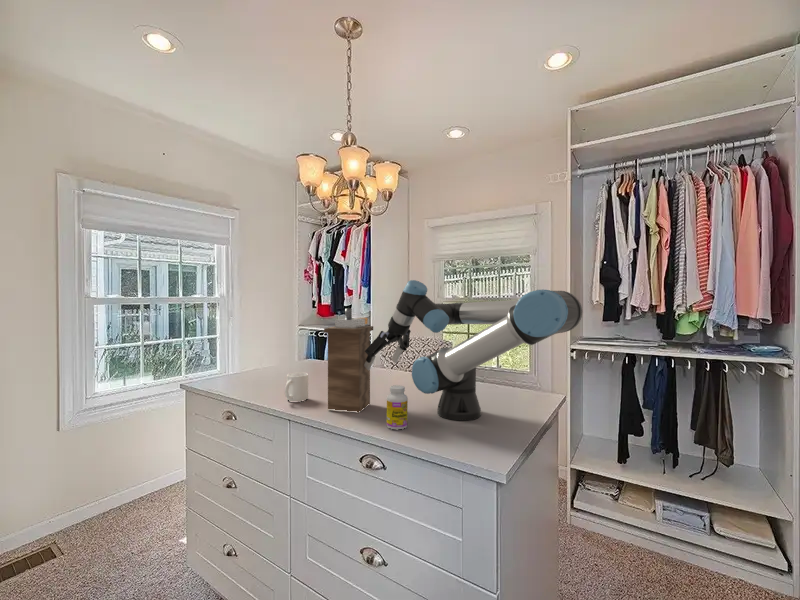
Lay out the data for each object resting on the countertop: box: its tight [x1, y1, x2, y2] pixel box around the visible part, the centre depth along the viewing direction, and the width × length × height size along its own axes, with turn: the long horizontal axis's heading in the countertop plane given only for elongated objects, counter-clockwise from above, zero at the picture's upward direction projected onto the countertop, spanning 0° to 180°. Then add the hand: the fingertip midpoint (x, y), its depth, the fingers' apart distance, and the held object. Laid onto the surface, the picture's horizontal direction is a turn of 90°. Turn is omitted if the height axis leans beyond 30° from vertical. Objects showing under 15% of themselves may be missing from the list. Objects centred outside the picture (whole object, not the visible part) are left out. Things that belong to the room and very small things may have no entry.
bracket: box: [334, 308, 368, 328], centre depth 150 cm, size 20×8×7 cm, turn 166°
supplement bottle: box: [386, 384, 409, 430], centre depth 123 cm, size 7×7×13 cm
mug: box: [284, 372, 309, 401], centre depth 153 cm, size 12×8×10 cm
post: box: [323, 325, 374, 412], centre depth 145 cm, size 14×14×30 cm
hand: (380, 365), depth 147 cm, fingers open, 14 cm apart
